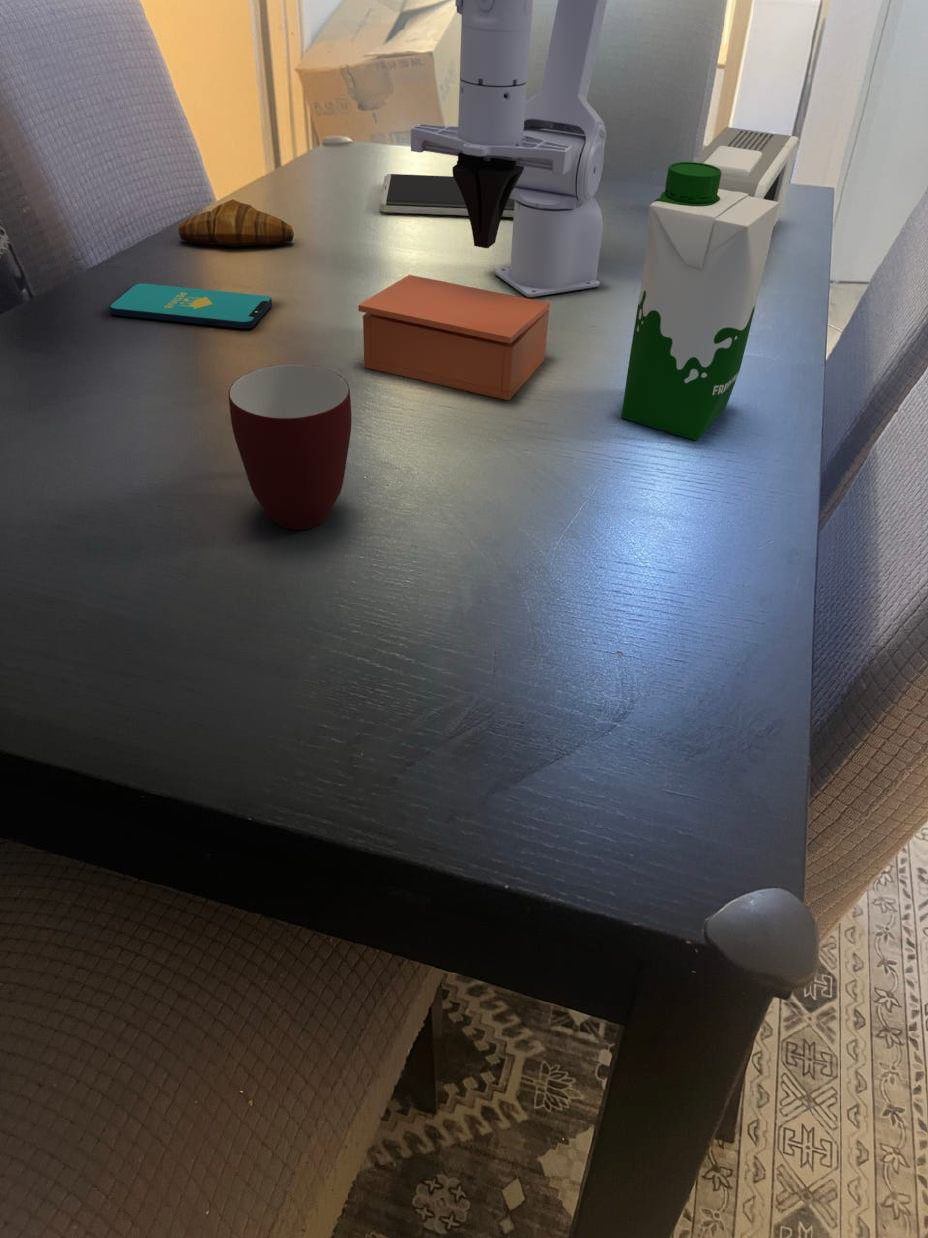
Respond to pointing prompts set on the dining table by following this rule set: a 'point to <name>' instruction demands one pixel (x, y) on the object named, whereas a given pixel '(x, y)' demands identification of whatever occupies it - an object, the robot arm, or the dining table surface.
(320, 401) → the mug
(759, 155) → the alarm clock
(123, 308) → the smartphone
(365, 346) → the case
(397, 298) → the case cover
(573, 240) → the robot arm
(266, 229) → the croissant
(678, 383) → the milk carton
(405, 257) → the dining table surface
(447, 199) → the tablet
